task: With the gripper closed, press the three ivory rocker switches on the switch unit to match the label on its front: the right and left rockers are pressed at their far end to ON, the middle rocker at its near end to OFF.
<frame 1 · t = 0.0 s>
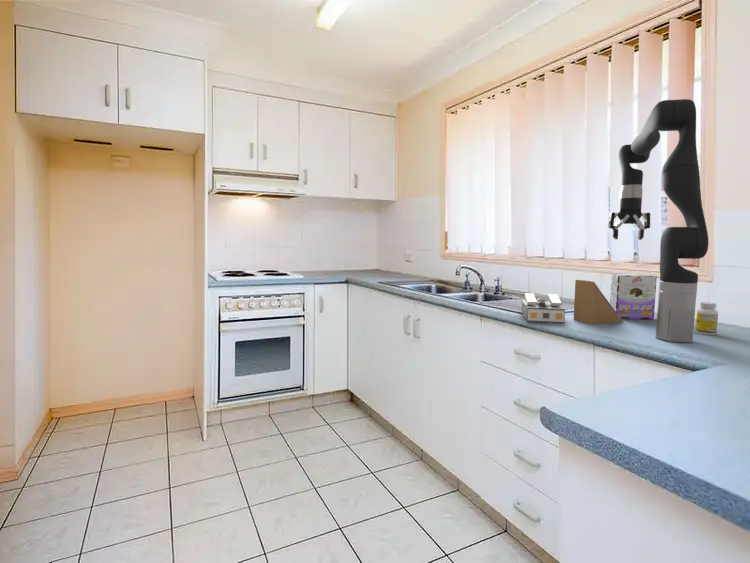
hand: (627, 239, 173), 29 cm above the counter, tool pointing down, fingers open, 8 cm apart
supplement bottle: (705, 334, 141), on the counter
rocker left: (530, 299, 165), point 7 cm above the counter, hinge at -12.0°
rocker right: (554, 300, 163), point 7 cm above the counter, hinge at -12.0°
rocker middle: (542, 299, 164), point 7 cm above the counter, hinge at 12.0°
candy box: (630, 318, 167), on the counter
sandwich container: (598, 321, 161), on the counter
switch unit: (541, 317, 165), on the counter
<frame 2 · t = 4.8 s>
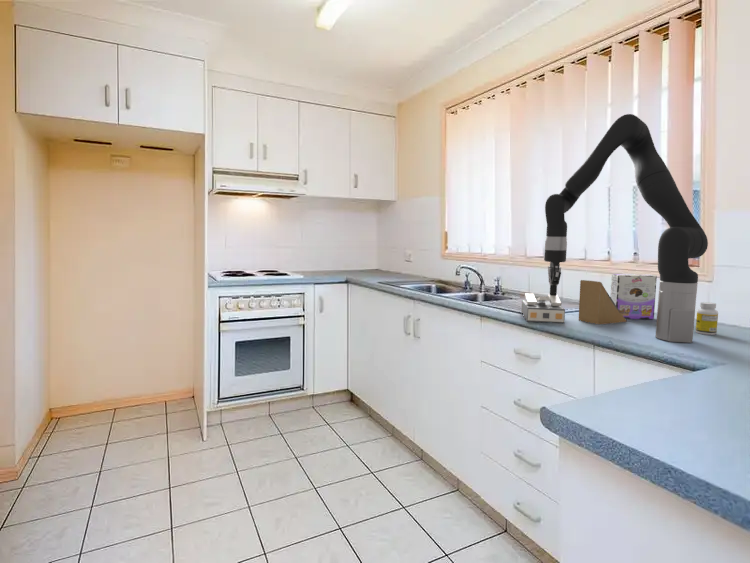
hand: (552, 295, 166), 8 cm above the counter, tool pointing down, fingers closed
rocker right: (554, 300, 163), point 7 cm above the counter, hinge at -11.9°, touching gripper
sandwich container: (602, 321, 161), on the counter
everything else where it was.
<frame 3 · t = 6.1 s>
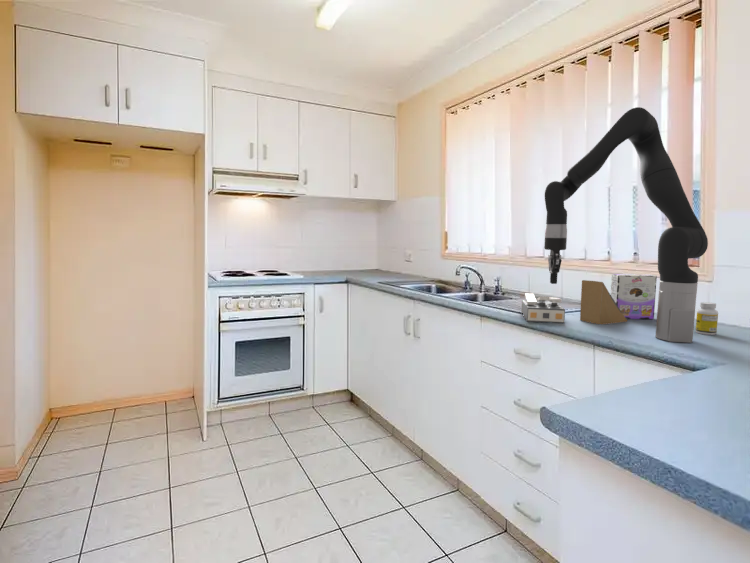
hand: (553, 283, 165), 13 cm above the counter, tool pointing down, fingers closed
rocker right: (554, 299, 163), point 7 cm above the counter, hinge at 4.0°
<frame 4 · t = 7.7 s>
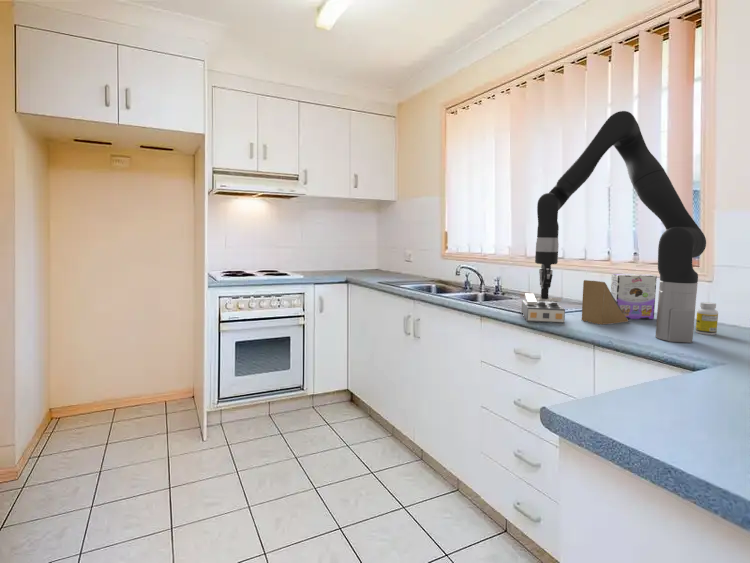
hand: (544, 298, 160), 8 cm above the counter, tool pointing down, fingers closed
rocker right: (554, 299, 163), point 7 cm above the counter, hinge at 9.5°
rocker middle: (542, 299, 164), point 7 cm above the counter, hinge at 9.8°, touching gripper
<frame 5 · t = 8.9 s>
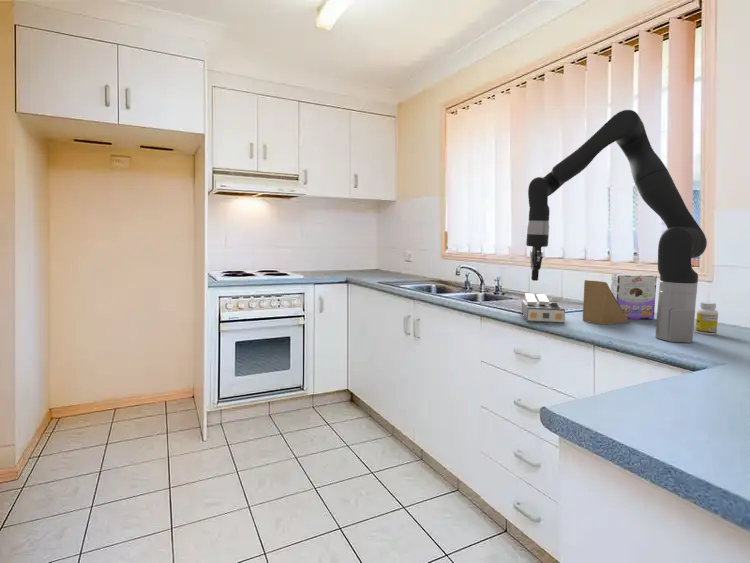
hand: (534, 280, 165), 14 cm above the counter, tool pointing down, fingers closed
rocker right: (554, 299, 163), point 7 cm above the counter, hinge at 10.3°
rocker middle: (542, 299, 164), point 7 cm above the counter, hinge at -8.5°
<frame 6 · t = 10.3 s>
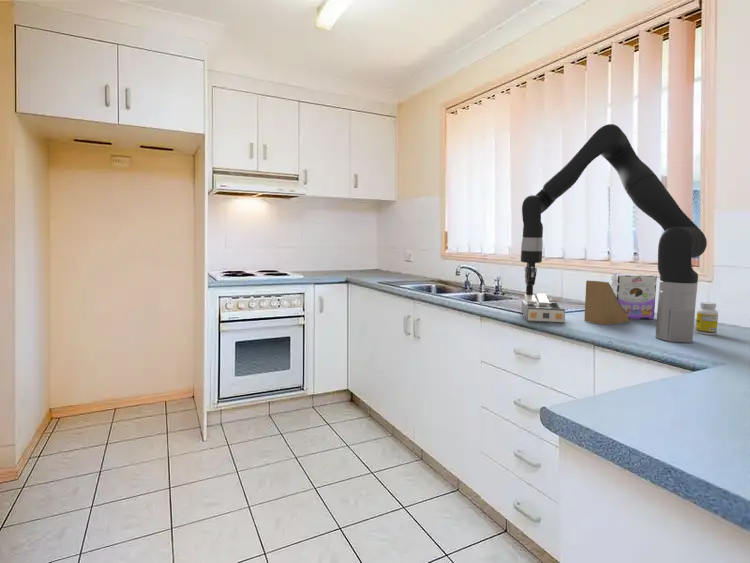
hand: (529, 295, 169), 8 cm above the counter, tool pointing down, fingers closed
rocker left: (530, 299, 165), point 7 cm above the counter, hinge at -9.4°, touching gripper
rocker middle: (542, 299, 164), point 7 cm above the counter, hinge at -12.9°
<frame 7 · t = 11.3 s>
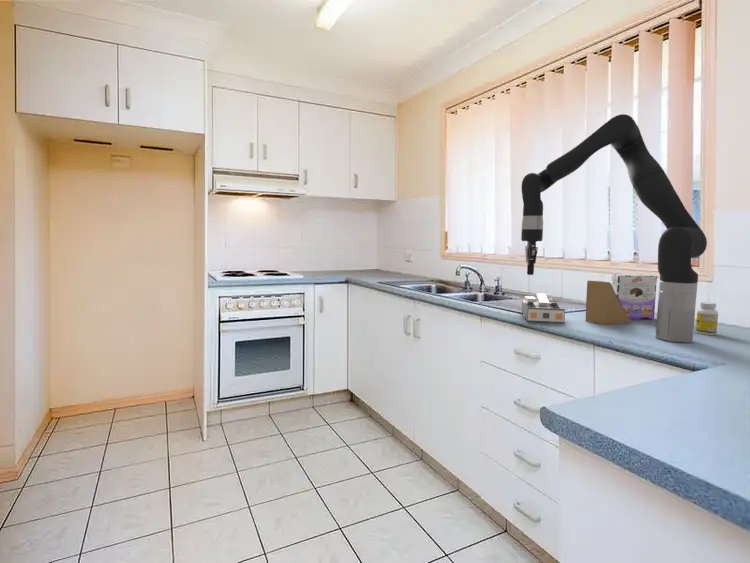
hand: (530, 274, 167), 16 cm above the counter, tool pointing down, fingers closed
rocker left: (530, 298, 165), point 7 cm above the counter, hinge at 2.0°
rocker middle: (542, 299, 164), point 7 cm above the counter, hinge at -13.7°
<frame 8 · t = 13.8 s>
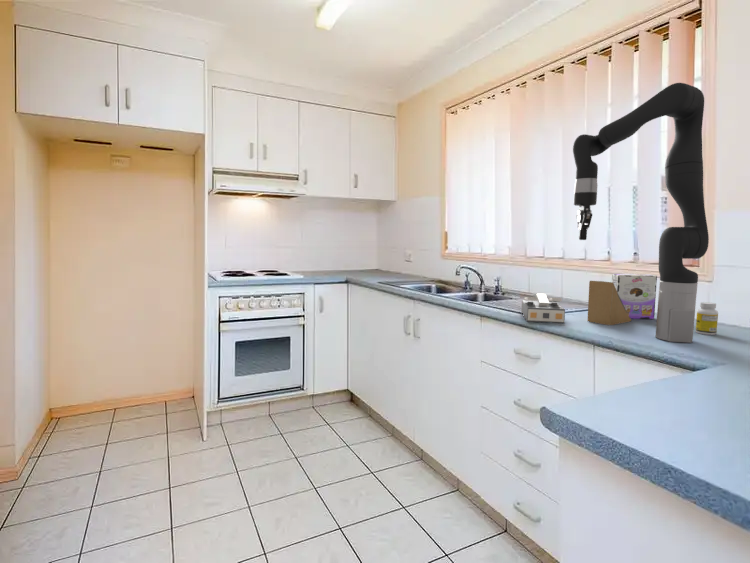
hand: (582, 239, 163), 29 cm above the counter, tool pointing down, fingers closed
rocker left: (530, 298, 165), point 7 cm above the counter, hinge at 7.6°
rocker middle: (542, 299, 164), point 7 cm above the counter, hinge at -14.0°
at the end: rocker right at +11° (first picture: -12°); rocker middle at -14° (first picture: +12°); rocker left at +8° (first picture: -12°) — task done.
